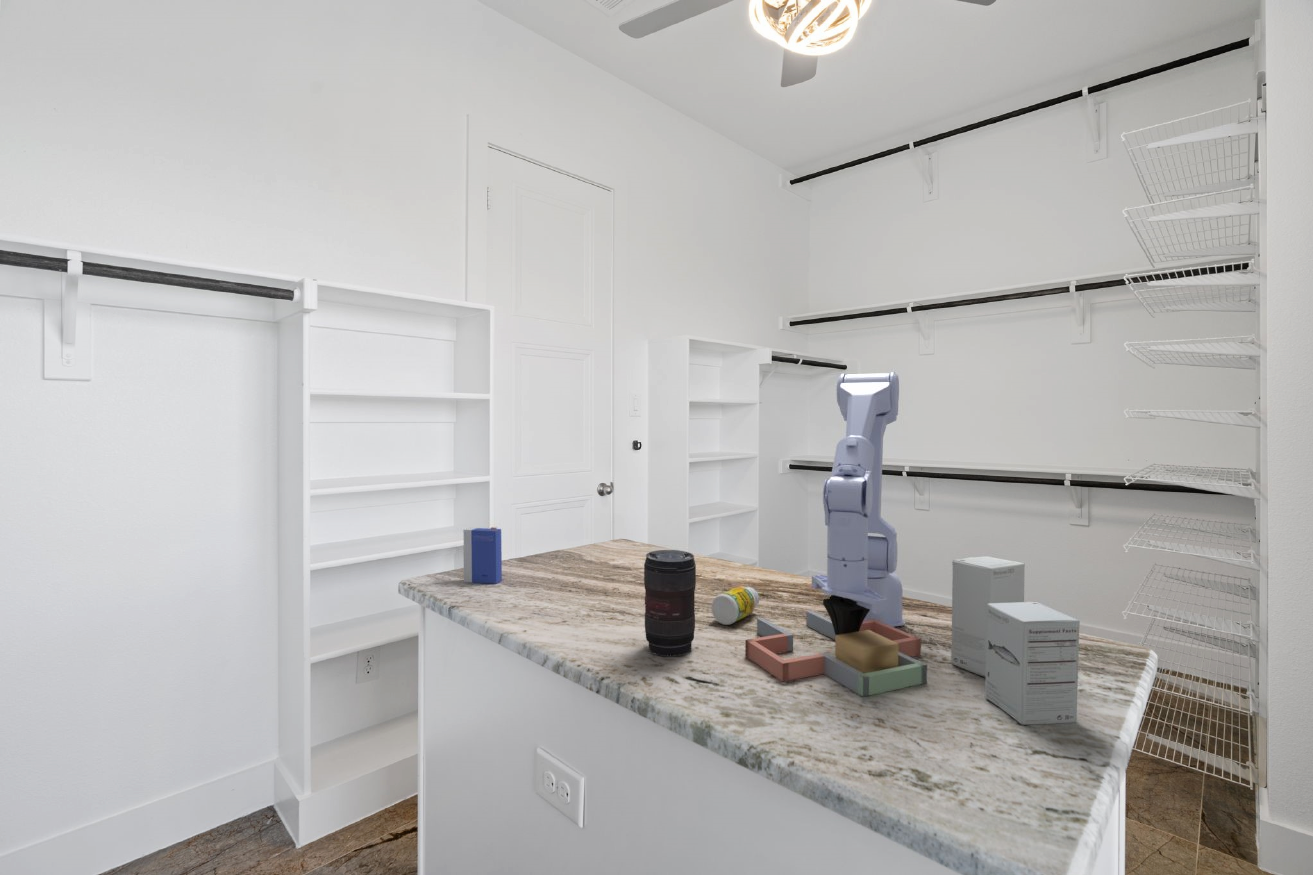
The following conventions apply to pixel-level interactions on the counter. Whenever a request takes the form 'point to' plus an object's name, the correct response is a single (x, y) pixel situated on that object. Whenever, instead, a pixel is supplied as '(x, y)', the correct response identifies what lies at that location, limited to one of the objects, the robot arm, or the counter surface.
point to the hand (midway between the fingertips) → (846, 647)
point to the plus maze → (824, 663)
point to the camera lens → (669, 601)
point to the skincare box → (979, 604)
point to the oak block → (866, 651)
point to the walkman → (482, 555)
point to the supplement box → (1032, 662)
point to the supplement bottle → (734, 604)
